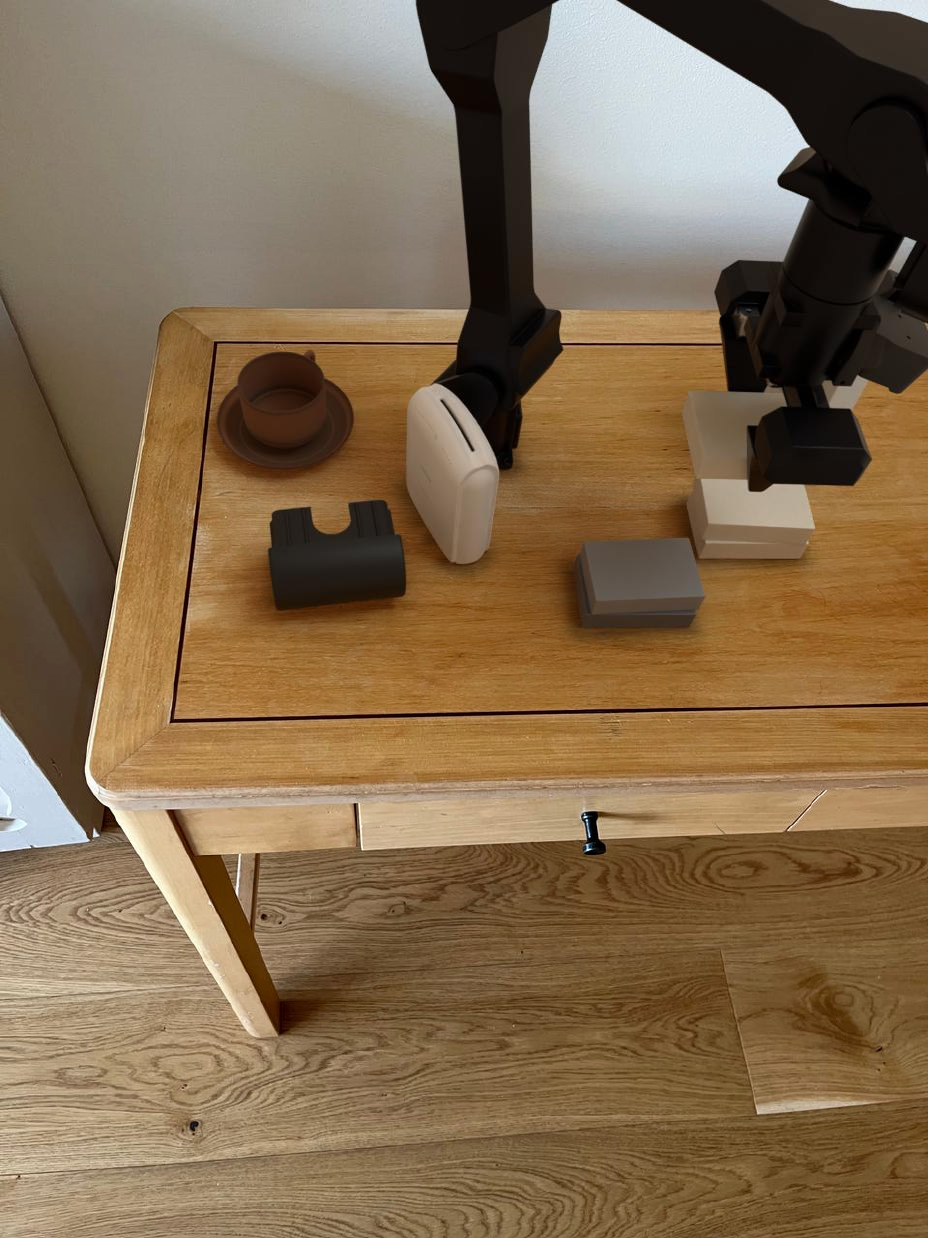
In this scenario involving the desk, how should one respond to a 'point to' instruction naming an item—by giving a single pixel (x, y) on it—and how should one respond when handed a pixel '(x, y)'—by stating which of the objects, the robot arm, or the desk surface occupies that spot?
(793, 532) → the white books
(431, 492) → the photo printer
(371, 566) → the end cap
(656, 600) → the grey books
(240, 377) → the cup and saucer
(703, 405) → the white book
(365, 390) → the desk surface
